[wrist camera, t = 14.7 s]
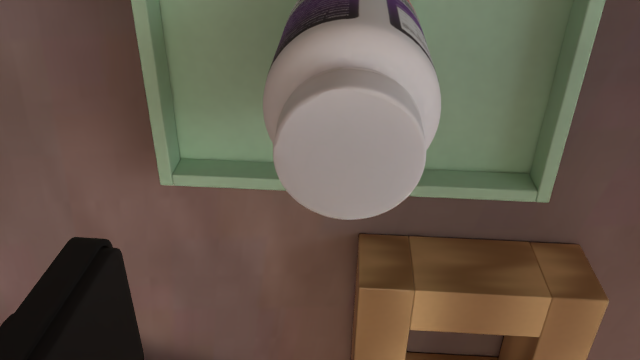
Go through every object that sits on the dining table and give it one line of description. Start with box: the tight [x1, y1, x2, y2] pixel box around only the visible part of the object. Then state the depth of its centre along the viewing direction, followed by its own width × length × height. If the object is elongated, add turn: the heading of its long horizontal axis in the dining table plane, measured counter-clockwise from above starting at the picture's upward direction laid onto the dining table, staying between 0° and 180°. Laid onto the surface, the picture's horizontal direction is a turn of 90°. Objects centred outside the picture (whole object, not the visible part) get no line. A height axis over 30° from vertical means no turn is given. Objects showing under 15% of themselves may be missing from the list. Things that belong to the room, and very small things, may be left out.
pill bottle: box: [263, 0, 441, 220], centre depth 19 cm, size 5×5×10 cm
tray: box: [131, 0, 605, 203], centre depth 22 cm, size 17×13×2 cm
